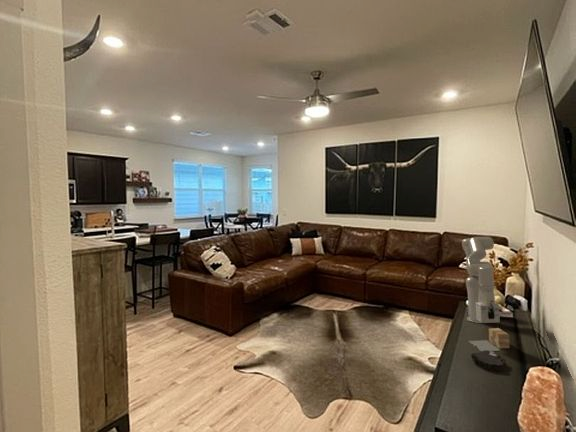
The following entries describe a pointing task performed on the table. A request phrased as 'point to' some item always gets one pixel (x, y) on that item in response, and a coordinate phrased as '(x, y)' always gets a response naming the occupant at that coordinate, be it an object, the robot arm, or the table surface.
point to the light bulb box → (486, 313)
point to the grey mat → (484, 345)
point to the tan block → (499, 338)
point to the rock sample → (489, 361)
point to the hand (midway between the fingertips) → (487, 316)
